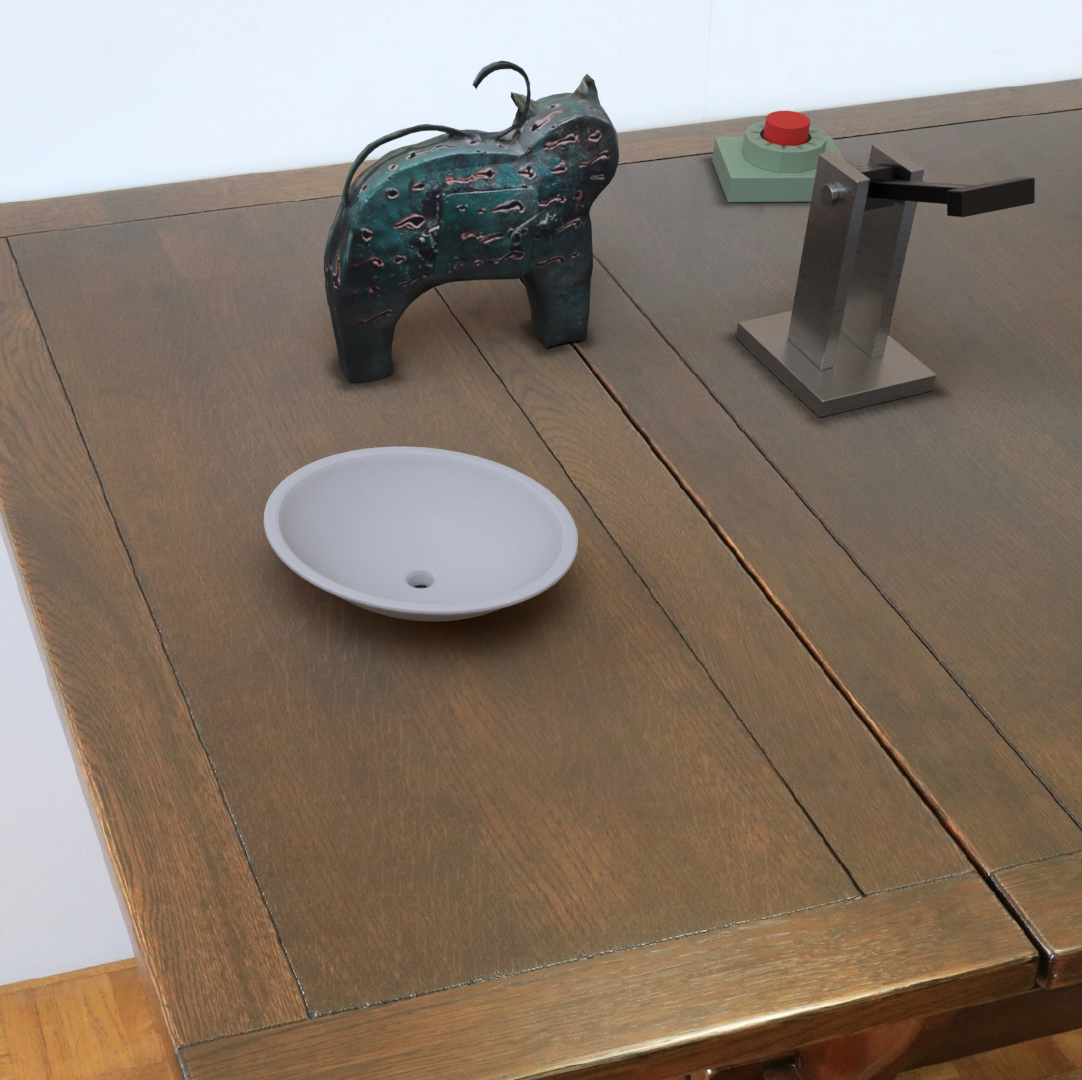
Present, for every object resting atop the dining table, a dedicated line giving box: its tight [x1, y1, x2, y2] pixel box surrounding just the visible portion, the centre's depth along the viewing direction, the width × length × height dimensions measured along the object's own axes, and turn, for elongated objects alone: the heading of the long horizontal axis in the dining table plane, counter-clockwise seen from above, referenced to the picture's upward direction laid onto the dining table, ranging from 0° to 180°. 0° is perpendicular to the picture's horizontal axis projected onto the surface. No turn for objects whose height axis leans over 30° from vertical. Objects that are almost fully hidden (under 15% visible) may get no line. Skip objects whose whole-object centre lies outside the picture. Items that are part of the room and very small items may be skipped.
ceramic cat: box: [323, 60, 620, 383], centre depth 100 cm, size 20×6×20 cm, turn 110°
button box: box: [711, 119, 845, 203], centre depth 126 cm, size 10×8×4 cm
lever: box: [854, 165, 1036, 218], centre depth 92 cm, size 14×5×2 cm, turn 22°
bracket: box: [735, 141, 937, 418], centre depth 101 cm, size 11×9×15 cm
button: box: [763, 110, 811, 146], centre depth 125 cm, size 4×4×2 cm
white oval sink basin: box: [263, 445, 579, 622], centre depth 85 cm, size 18×14×5 cm
